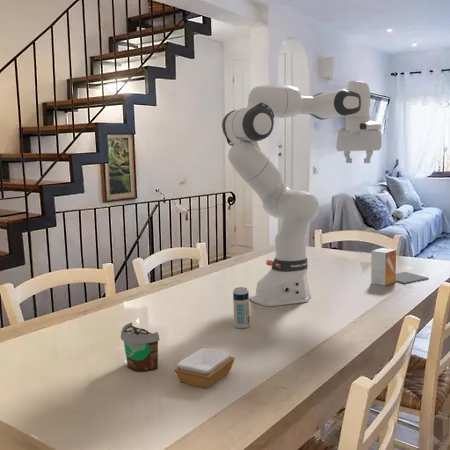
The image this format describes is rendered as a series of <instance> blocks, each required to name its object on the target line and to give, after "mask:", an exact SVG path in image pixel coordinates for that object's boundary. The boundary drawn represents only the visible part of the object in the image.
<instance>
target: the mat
mask: <svg viewBox="0 0 450 450" xmlns="http://www.w3.org/2000/svg"><path fill="white" fill-rule="evenodd" d="M426 279H427V280H429V279H430V278H429V277H428V276H423V275H418V274H415V273H412V272H407V271H405V272H396V281H395V282H394V283H398V284H403V285H407V284H412V282H413V283H417V282H416V281H418V282H421V280H422V281H427V280H426Z"/></svg>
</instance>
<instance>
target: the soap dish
mask: <svg viewBox="0 0 450 450" xmlns="http://www.w3.org/2000/svg"><path fill="white" fill-rule="evenodd" d="M235 359H236V358H235V357H234V356H232V353H231V352H227V351H222V350H217V349H213V348H208V347H207V348H205V347H203V348H200V349H199V350H197V351H195V352H193V353H192V354H190V355H188V356H186V357H185V358H183V359H182V360H180V361H179V362H178V363H177V367H176V368H173V371H174V373H175V375H176V377H177V378H178V381H179V382H180V383H184V384H188V385H192V386H197V387H200V388H204V389H209V388H210V387H212V386H214V385H215V383H217V382H218V381H220V380H221V379H223V378H224V376H226V375H227V374H229V372H230V371H231V369H232V366H233V364H234V362H235Z"/></svg>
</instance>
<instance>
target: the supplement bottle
mask: <svg viewBox="0 0 450 450" xmlns="http://www.w3.org/2000/svg"><path fill="white" fill-rule="evenodd" d="M249 292H250V291H249V290H248V289H247V287H242V286H241V287H240V286H239V287H236V288H234V289H233V290H232V294H233V295H232V299H233V301H232V302H233V323H234V324H233V326H234V328H236V329H239V330H244V329H248V328H249V327H250V301H249V300H250V295H249Z"/></svg>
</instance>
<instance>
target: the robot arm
mask: <svg viewBox="0 0 450 450" xmlns="http://www.w3.org/2000/svg"><path fill="white" fill-rule="evenodd" d="M247 97H248V98H247V106H246V107H243V108H239V109H234V110H231V111H229V112H228V113H226V115H225V116H223V118H222V122H221V129H222V133H223V135H224V137H225V139H226V142H227V144H228V145H229V146H230V147H231V148H230V149H229V151H228V155H227V157H228V160H229V162H230V164H231V166H232V167H233V168H234V171H236V173H237V174H238V175H239V176H240V178H241V179H242V180H243V181H245V182H246V183H247V185H249V187H250V188H251V189H252V190H253V191H254V192H255V193H256V194H257V195H258V197H259V199H260V200H261V201H262V208H263V210H264V212H265V213H266V214H268V215H270V216H272V217H274V218H275V219H279V220H281V221H282V222H281V228H280V231H279V232H278V233H276V235H275V236H274V237H275V238H274V250H275V251H274V253H275V254H274V255H275V257H274V259H273V260H270V259H267V260H265V264H266V266H270V267H271V269H269V271H268V272H267V273H266V274H264V275H263V277H261V278H260V279H259V280H258V281H257V283H256V288H255V292H254V293H252V294H250V295H249V300H251V301H252V302H253V303H255V304H257V305H259V306H264V307H276V306H284V305H291V304H299V303H307V302H309V301H310V300H309V299H310V298H311V297H312V293H311V289H310V286H309V280H308V266H309V265H308V257H307V236H308V231H309V228H310V224H311V222H312V221H313V220H314V219H315V218H316V217H317V215H318V213H319V209H320V203H319V200H318V198H317V197H316V196H315V195H314V194H312V193H310V192H307V191H306V190H299V189H292V188H290V187H288V186H287V185H286V184H285V183H284V181H283V174H282V171H281V170H279V168H278V167H277V166H276V165H275V164H274V163H273V161H271V159H270V158H269V157H268V156H267V155H266V154H265V153H264V152H263V151H262V150H261V147H260V146H259V142H261V141H263V140H265V139H267V138H268V137H269V136H270V135H271V134H272V132H273V129H274V124H275V123H274V122H275V120H274V119H275V118H276V119H278V118H279V119H281V118H282V119H283V118H291V117H295V116H298V114H299V115H300V114H305V115H310V116H312V117H314V118H316V119H318V120H319V121H320V120H321V121H323V120H327V119H328V120H329V119H336V118H344V117H345V126H342V127H340V128H339V129H338V131H337V132H338V133H337V136H336V147H335V148H336V150H337V152H343V156H344V158H345V163H347V164H352V162H353V158H352V157H351V152H362V151H363V152H364V151H365V154H366V156H365V158H363V163H364V164H370V163H371V158H372V156H373V154H374V151H380V150H381V148H382V146H383V145H382V142H383V141H382V132H381V131H380V130H381V128H382V124H381V123H379V122H377V121H374V120H371V115H370V107H371V91H370V87H369V84H368V83H367V82H366V81H362V80H351V81H349V82H348V83H347V84H346V85H344V86H343V87H341V88H339V89H337V90H333V91H332V90H331V91H327V92H319V93H317V94H314V95H313V96H304V95H302V93H301V91H300V90H299V88H298V87H295V86H291V85H287V84H263V85H259V86H254V88H252V89H251V90H250V92H249V94H248V96H247Z"/></svg>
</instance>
